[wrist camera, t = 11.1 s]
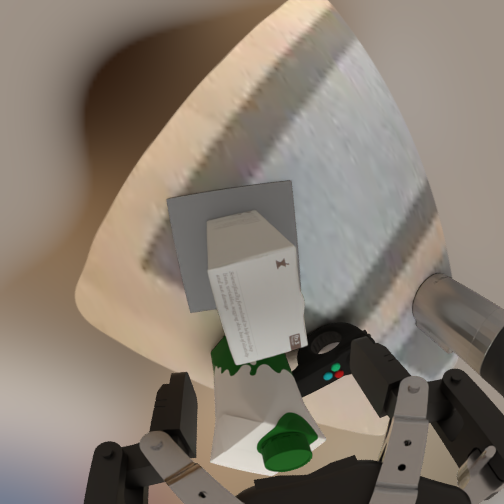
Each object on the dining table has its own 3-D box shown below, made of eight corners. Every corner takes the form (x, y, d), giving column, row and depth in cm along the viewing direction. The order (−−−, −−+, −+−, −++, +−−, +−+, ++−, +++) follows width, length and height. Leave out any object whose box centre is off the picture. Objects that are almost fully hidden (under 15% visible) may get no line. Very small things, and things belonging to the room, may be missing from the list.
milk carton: (290, 337, 37) (343, 453, 18) (250, 378, 38) (275, 494, 19) (239, 307, 35) (265, 437, 16) (200, 354, 36) (199, 481, 17)
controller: (355, 326, 38) (389, 365, 29) (283, 367, 39) (301, 415, 29) (347, 305, 37) (382, 343, 27) (271, 348, 37) (287, 398, 28)
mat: (299, 291, 35) (301, 294, 34) (190, 309, 34) (190, 312, 33) (289, 180, 31) (291, 180, 30) (167, 198, 30) (166, 199, 29)
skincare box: (205, 220, 30) (198, 263, 16) (259, 208, 31) (297, 240, 17) (223, 288, 33) (231, 370, 19) (272, 276, 33) (311, 349, 19)
